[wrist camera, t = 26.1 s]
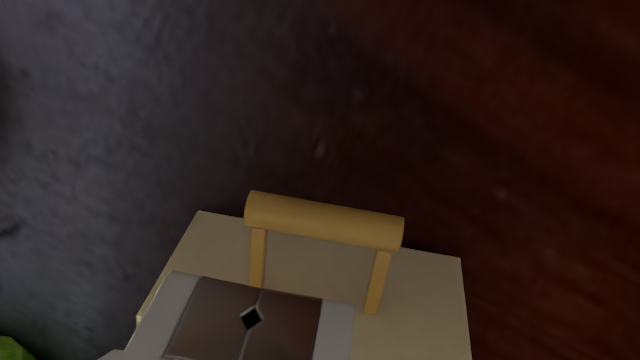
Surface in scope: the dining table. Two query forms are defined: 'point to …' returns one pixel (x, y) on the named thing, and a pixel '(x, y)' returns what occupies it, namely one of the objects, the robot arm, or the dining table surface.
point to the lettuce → (13, 350)
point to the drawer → (336, 271)
